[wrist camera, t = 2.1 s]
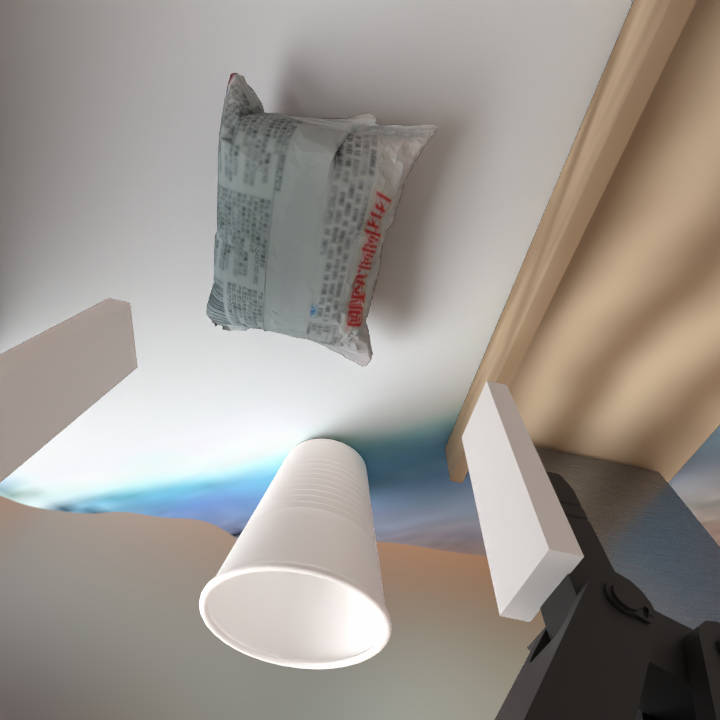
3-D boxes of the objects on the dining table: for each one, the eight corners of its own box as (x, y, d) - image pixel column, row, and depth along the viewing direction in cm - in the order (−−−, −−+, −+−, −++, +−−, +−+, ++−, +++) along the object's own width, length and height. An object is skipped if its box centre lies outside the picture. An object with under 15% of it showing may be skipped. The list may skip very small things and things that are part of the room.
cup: (346, 392, 25) (318, 543, 16) (415, 485, 29) (426, 652, 20) (235, 444, 28) (156, 597, 19) (311, 522, 32) (277, 681, 23)
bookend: (503, 459, 25) (579, 677, 15) (512, 441, 25) (600, 659, 14) (644, 487, 26) (815, 720, 15) (658, 471, 25) (847, 705, 15)
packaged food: (431, 131, 17) (443, 123, 13) (369, 351, 23) (363, 397, 19) (245, 79, 17) (194, 55, 13) (229, 316, 23) (190, 355, 18)
